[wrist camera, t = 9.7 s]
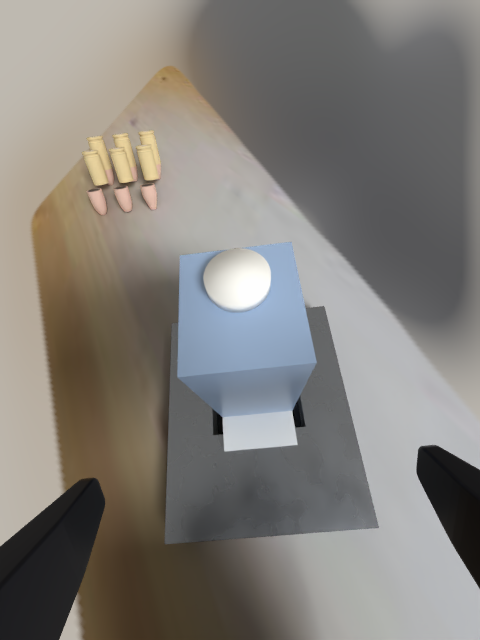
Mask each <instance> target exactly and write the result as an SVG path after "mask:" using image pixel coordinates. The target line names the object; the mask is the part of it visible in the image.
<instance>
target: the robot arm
mask: <svg viewBox="0 0 480 640" xmlns="http://www.w3.org/2000/svg"><path fill="white" fill-rule="evenodd" d="M417 475H418V478H419V480H420V482H421V484H422V486H423V488H424V490H425V492H426V494H427V496H428V498H429V500H430V502H431V504H432V506H433V508H434V510H435V512H436V514H437V516H438V518H439V520H440V522H441V524H442V526H443V527H444V529H445V531H446V533H447V535H448V537H449V539H450V541H451V543H452V544H453V546H454V548H455V549H456V551H457V553H458V554H459V556H460V558H461V559H462V561H463V562H464V564H465V566H466V567H467V569H468V570H469V572H470V574H471V575H472V577H473V579H474V580H475V582H476V583H477V585H478V587H479V588H480V470H479V469H477V468H476V467H474V466H472V465H470V464H469V463H467V462H465V461H463V460H462V459H460V458H458V457H456V456H455V455H453V454H451V453H449V452H448V451H446V450H444V449H442V448H441V447H439V446H436V445H428V446H421V447H420V448H419V449H418V458H417ZM104 507H105V498H104V495H103V492H102V490H101V487H100V484H99V482H98V480H97V479H96V478H86V479H81V480H79V481H78V482H77V483H76V484H74V485H73V486H72V487H71V488H70V489H68V490H67V491H66V492H65V493H64V494H62V495H61V496H60V497H59V498H58V499H57V500H55V501H54V502H53V503H52V504H51V505H49V506H48V507H47V508H46V509H45V510H43V511H42V512H41V513H40V514H39V515H37V516H36V517H35V518H34V519H33V520H31V521H30V522H29V523H28V524H27V525H25V526H24V527H23V528H22V529H21V530H20V531H18V532H17V533H16V534H15V535H14V536H12V537H11V538H10V539H9V540H8V541H6V542H5V543H4V544H3V545H2V546H0V640H59V638H60V636H61V633H62V631H63V628H64V626H65V623H66V620H67V618H68V615H69V613H70V610H71V608H72V605H73V602H74V600H75V597H76V595H77V592H78V590H79V587H80V584H81V582H82V579H83V576H84V573H85V571H86V567H87V564H88V561H89V558H90V555H91V551H92V548H93V545H94V541H95V538H96V534H97V531H98V528H99V524H100V521H101V518H102V514H103V511H104Z"/></svg>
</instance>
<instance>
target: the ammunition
mask: <svg viewBox="0 0 480 640" xmlns="http://www.w3.org/2000/svg"><path fill="white" fill-rule="evenodd" d="M153 133H154V131H153V130H151V131H142V132H139V135H140V141H141V145H139V146H136V149H137V154H138V158H139V161H140V165H141V168H142V172H143V176H144V179H145V180H157V179H160V175H161V161H160V157H159V152H158V148H157V143H156V139H155V136H154V134H153ZM102 138H103V137H102V136H94V137H88V138H87V140H88V141H89V142H88V143H89V147H90V149H91V150H89V151H84V152H82V155H84V160H85V163H86V165H87V168H88V170H89V173H90V175H91V178H92V181H93V183H94V185H103V184H108V185H112V184H113V183H114V174H113V170H112V165H111V162H110V159H109V156H108V153H107V149H106V146H105V143H104V141H103V140H102ZM113 138H114V143H115V146H116V148H111V149H109V152H110V153H111V154H110V156H111V159H112V162H113V165H114V168H115V171H116V174H117V177H118V180H119V183H126V182H134V181H137V177H138V175H137V167H136V166H137V165H136V162H135V158H134V154H133V151H132V147H131V143H130V140H129V138H128V133H122V134H115V135H113ZM140 188H141V191H142V195H143V198H144V200H145V201H146V203H147V204H148V206H149V207H150V209H151V210H154V209H156V208H157V193H156V189H155V185H154V183H148V184H143V185H141V186H140ZM113 190H114V193H115V195H116V198H117V201H118V203H119V205H120V206H121V208H122V209H123V210H124V211H125V212H129V211H131V210H132V200H131V195H130V192H129V189H128V186H119V187H115V188H113ZM87 193H88V196H89V198H90V201H91V203H92V205H93V207H94V208H95V210H96V211H97V212H98V213H99V214H100V215H105V214H106V212H107V205H106V200H105V197H104V195H103V192H102V189H101V188H96V189H91V190H88V191H87Z"/></svg>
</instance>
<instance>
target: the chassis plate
mask: <svg viewBox="0 0 480 640" xmlns="http://www.w3.org/2000/svg"><path fill="white" fill-rule="evenodd" d="M305 309H306V314H307V318H308V323H309V328H310V333H311V338H312V342H313V347H314V352H315V357H316V361H317V363H316V365H315V367H314V369H313V371H312V373H311V375H310V377H309V379H308V381H307V383H306V385H305V387H304V389H303V391H302V393H301V395H300V396H299V398H298V400H297V401H298V407H299V413H300V419H301V425H302V427H297V428H295V432H296V438H297V444H298V445H292V446H281V447H270V448H259V449H248V450H237V451H226V452H225V451H224V437H223V434H222V435H218V423H217V412H216V411H215V410H214V409H213V408H211V407H210V406H209V405H208V404H207V403H206V402H205V401H204V400H202V399H201V398H200V397H199V396H198V395H197V394H196V393H195V392H193V391H192V390H191V389H190V388H189V387H188V386H187V385H186V384H184V383H183V382H182V381H181V380H180V379H179V378H178V377H177V370H178V323H172V331H171V362H170V393H169V424H168V455H167V486H166V517H165V544H174V543H187V542H200V541H213V540H226V539H239V538H252V537H265V536H278V535H291V534H304V533H317V532H330V531H343V530H356V529H369V528H379V526H378V522H377V518H376V514H375V510H374V506H373V502H372V498H371V494H370V490H369V486H368V482H367V478H366V474H365V469H364V465H363V461H362V457H361V453H360V449H359V445H358V441H357V437H356V433H355V429H354V425H353V421H352V417H351V413H350V408H349V404H348V400H347V396H346V392H345V388H344V384H343V380H342V376H341V372H340V368H339V364H338V360H337V356H336V352H335V348H334V343H333V339H332V335H331V331H330V327H329V323H328V319H327V315H326V311H325V307H324V306H322V307H313V308H305Z"/></svg>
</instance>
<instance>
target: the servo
mask: <svg viewBox="0 0 480 640" xmlns="http://www.w3.org/2000/svg"><path fill="white" fill-rule="evenodd" d="M316 363H317V361H316V357H315V352H314V347H313V342H312V338H311V333H310V328H309V323H308V318H307V314H306V309H305V304H304V299H303V295H302V290H301V285H300V280H299V276H298V271H297V266H296V261H295V257H294V252H293V247H292V242H286V243H278V244H270V245H262V246H254V247H245V248H234V249H229V250H221V251H213V252H205V253H197V254H189V255H180V274H179V322H178V370H177V377H178V378H179V379H180V380H181V381H182V382H183V383H184V384H186V385H187V386H188V387H189V388H190V389H191V390H192V391H193V392H195V393H196V394H197V395H198V396H199V397H200V398H201V399H202V400H204V401H205V402H206V403H207V404H208V405H209V406H210V407H211V408H213V409H214V410H215V411H216V412H217V413H218V414H219V415H221V416H222V417H223V437H224V451H225V452H226V451H237V450H248V449H259V448H270V447H281V446H292V445H298V444H297V438H296V432H295V425H294V419H293V412H292V410H293V408H294V406H295V404H296V402H297V400H298V398H299V396H300V395H301V393H302V391H303V389H304V387H305V385H306V383H307V381H308V379H309V377H310V375H311V373H312V371H313V369H314V367H315V365H316Z"/></svg>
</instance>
